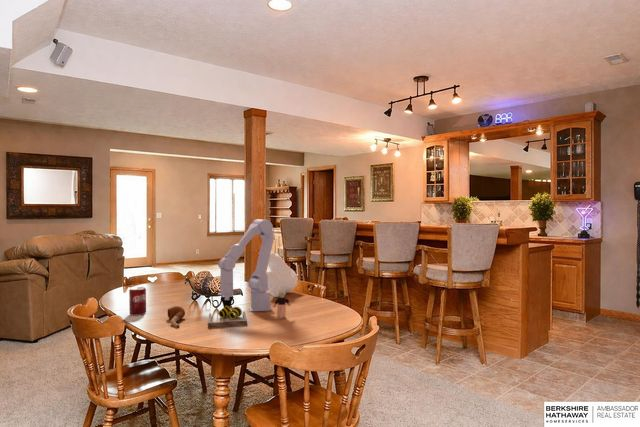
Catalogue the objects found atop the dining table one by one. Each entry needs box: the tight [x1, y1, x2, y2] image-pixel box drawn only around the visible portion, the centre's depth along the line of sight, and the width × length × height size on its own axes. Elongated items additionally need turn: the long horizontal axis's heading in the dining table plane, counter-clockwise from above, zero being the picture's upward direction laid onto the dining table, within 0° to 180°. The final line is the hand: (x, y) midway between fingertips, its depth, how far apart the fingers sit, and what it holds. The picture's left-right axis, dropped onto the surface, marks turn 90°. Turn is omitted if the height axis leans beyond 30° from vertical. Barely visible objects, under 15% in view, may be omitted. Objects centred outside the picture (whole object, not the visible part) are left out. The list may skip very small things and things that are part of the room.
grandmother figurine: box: [272, 290, 291, 320], centre depth 189 cm, size 8×4×13 cm, turn 118°
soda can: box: [128, 286, 147, 316], centre depth 199 cm, size 7×7×12 cm
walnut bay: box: [207, 311, 248, 329], centre depth 184 cm, size 16×16×2 cm
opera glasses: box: [218, 306, 243, 320], centre depth 191 cm, size 10×5×5 cm, turn 65°
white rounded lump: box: [266, 250, 298, 298], centre depth 241 cm, size 25×16×25 cm
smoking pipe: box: [167, 305, 186, 329], centre depth 184 cm, size 7×18×6 cm, turn 26°
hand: (227, 312), depth 196 cm, fingers closed
